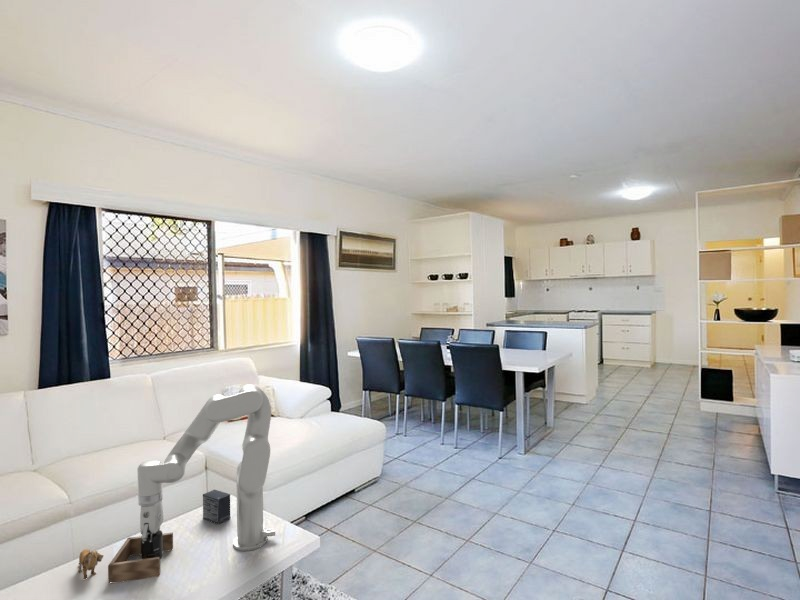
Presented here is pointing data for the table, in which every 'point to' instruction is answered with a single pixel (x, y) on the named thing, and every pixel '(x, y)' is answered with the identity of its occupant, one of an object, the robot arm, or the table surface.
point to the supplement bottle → (157, 545)
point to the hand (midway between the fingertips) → (151, 546)
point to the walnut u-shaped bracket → (136, 561)
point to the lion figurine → (88, 561)
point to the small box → (216, 506)
